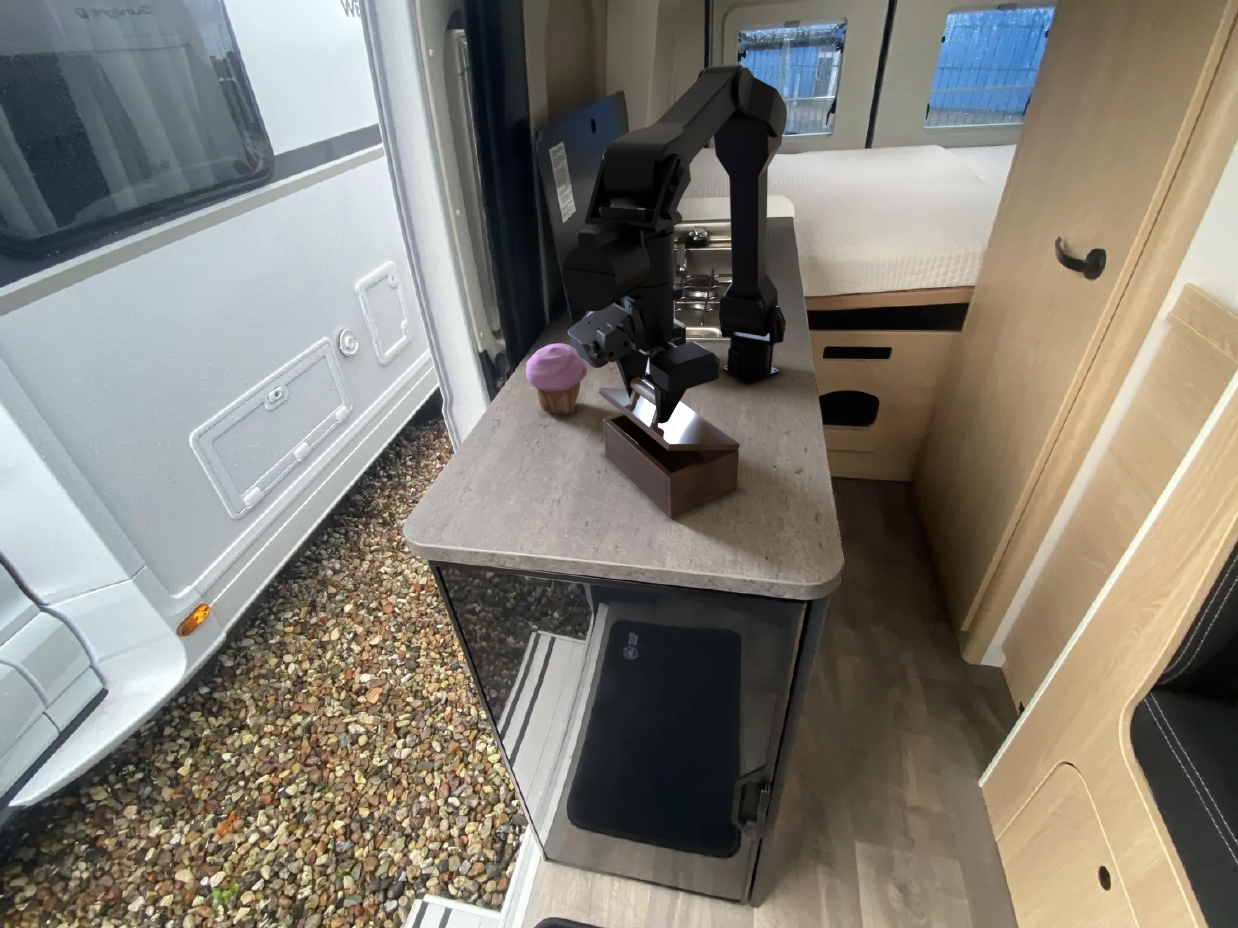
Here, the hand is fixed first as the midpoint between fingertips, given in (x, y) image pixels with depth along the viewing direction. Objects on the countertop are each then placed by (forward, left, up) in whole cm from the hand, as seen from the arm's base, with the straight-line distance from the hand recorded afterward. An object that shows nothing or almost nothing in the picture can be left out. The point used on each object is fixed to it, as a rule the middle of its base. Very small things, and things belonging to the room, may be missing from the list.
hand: (648, 411), depth 71 cm
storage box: (-3, 0, -10) cm, 10 cm away
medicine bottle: (-19, -27, -10) cm, 34 cm away
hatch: (-2, 0, -2) cm, 3 cm away
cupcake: (+1, -23, -10) cm, 25 cm away
